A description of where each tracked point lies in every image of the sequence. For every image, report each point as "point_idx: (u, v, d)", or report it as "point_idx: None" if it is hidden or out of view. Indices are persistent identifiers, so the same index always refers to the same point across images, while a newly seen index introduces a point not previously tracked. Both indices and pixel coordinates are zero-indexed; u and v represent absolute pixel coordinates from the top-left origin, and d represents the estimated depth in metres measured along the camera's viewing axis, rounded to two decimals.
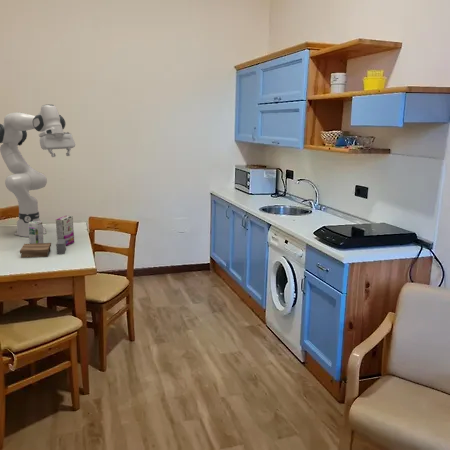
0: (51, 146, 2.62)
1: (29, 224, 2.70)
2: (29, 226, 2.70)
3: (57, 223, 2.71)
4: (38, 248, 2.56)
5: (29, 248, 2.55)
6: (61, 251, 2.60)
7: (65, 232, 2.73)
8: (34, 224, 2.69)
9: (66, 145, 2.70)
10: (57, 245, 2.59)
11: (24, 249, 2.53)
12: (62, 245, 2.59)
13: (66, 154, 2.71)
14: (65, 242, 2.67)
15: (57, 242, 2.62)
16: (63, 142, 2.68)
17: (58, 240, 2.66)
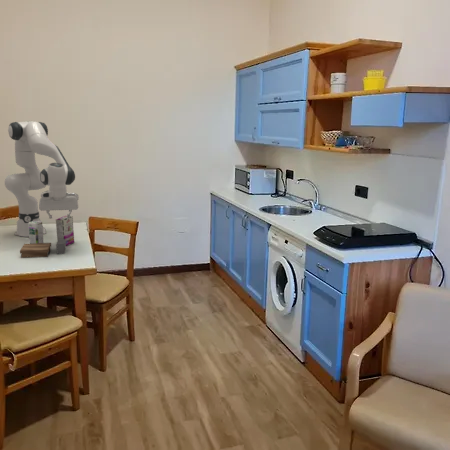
0: (47, 209, 2.56)
1: (29, 224, 2.70)
2: (29, 226, 2.70)
3: (57, 223, 2.71)
4: (38, 248, 2.56)
5: (29, 248, 2.55)
6: (61, 251, 2.60)
7: (65, 232, 2.73)
8: (34, 224, 2.69)
9: (66, 208, 2.58)
10: (57, 245, 2.59)
11: (24, 249, 2.53)
12: (62, 245, 2.59)
13: (67, 215, 2.62)
14: (65, 242, 2.67)
15: (57, 242, 2.62)
16: (63, 205, 2.58)
17: (58, 240, 2.66)
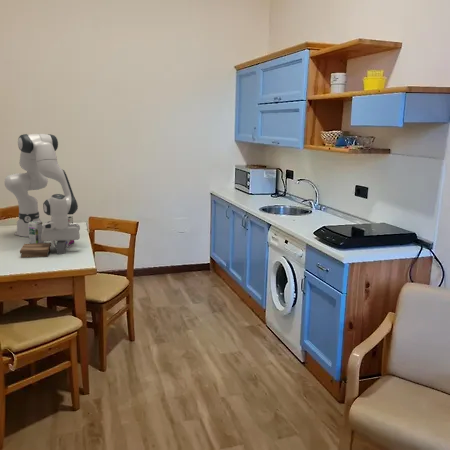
0: (49, 239, 2.60)
1: (29, 224, 2.70)
2: (29, 226, 2.70)
3: None
4: (38, 248, 2.56)
5: (29, 248, 2.55)
6: (61, 251, 2.60)
7: None
8: (34, 224, 2.69)
9: (67, 238, 2.62)
10: (57, 245, 2.59)
11: (24, 249, 2.53)
12: (62, 245, 2.59)
13: (65, 245, 2.65)
14: (65, 242, 2.67)
15: (57, 242, 2.62)
16: (64, 235, 2.62)
17: None
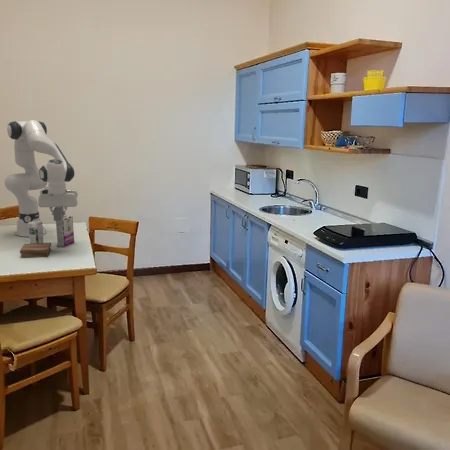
0: (46, 205, 2.56)
1: (29, 224, 2.70)
2: (29, 226, 2.70)
3: (57, 223, 2.71)
4: (38, 248, 2.56)
5: (29, 248, 2.55)
6: (58, 218, 2.56)
7: (65, 232, 2.73)
8: (34, 224, 2.69)
9: (65, 205, 2.58)
10: (54, 211, 2.54)
11: (24, 249, 2.53)
12: (59, 211, 2.55)
13: (62, 212, 2.61)
14: (63, 209, 2.63)
15: (54, 208, 2.57)
16: (62, 202, 2.57)
17: (56, 207, 2.61)
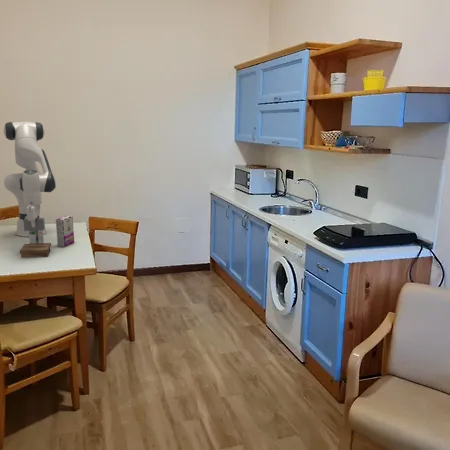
0: None
1: None
2: None
3: (57, 223, 2.71)
4: (38, 248, 2.56)
5: (29, 248, 2.55)
6: None
7: (65, 232, 2.73)
8: None
9: None
10: None
11: (24, 249, 2.53)
12: None
13: None
14: (39, 222, 2.55)
15: None
16: None
17: (39, 218, 2.58)
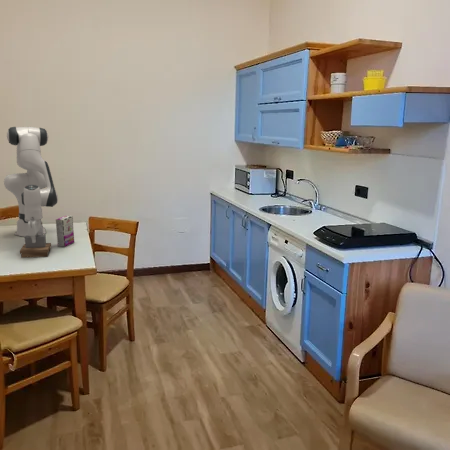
0: None
1: None
2: None
3: (57, 223, 2.71)
4: (38, 248, 2.56)
5: (29, 248, 2.55)
6: None
7: (65, 232, 2.73)
8: None
9: None
10: None
11: (24, 249, 2.53)
12: None
13: None
14: (41, 239, 2.57)
15: None
16: None
17: (40, 235, 2.60)
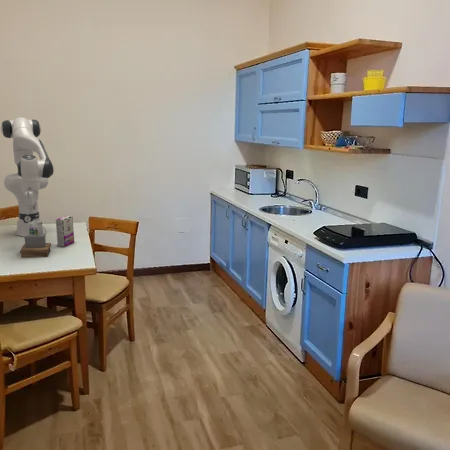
0: None
1: (29, 224, 2.70)
2: (29, 226, 2.70)
3: (57, 223, 2.71)
4: (38, 248, 2.56)
5: (29, 248, 2.55)
6: None
7: (65, 232, 2.73)
8: (34, 224, 2.69)
9: None
10: None
11: (24, 249, 2.53)
12: None
13: None
14: (41, 239, 2.57)
15: (32, 235, 2.59)
16: None
17: (40, 235, 2.60)
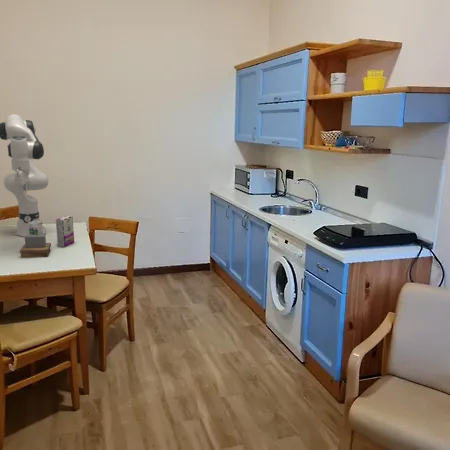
0: None
1: (29, 224, 2.70)
2: (29, 226, 2.70)
3: (57, 223, 2.71)
4: (38, 248, 2.56)
5: (29, 248, 2.55)
6: None
7: (65, 232, 2.73)
8: (34, 224, 2.69)
9: None
10: None
11: (24, 249, 2.53)
12: None
13: None
14: (41, 239, 2.57)
15: (32, 235, 2.59)
16: None
17: (40, 235, 2.60)
